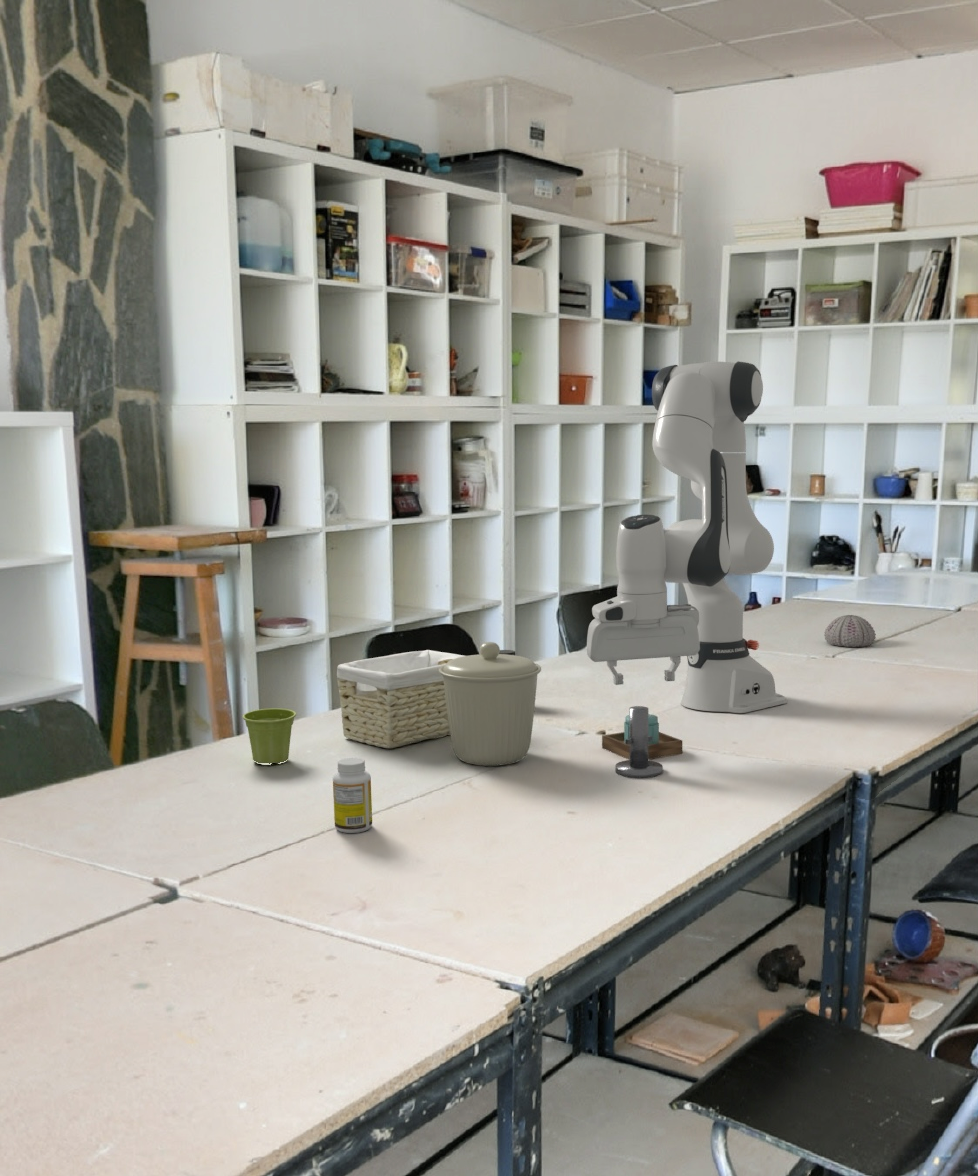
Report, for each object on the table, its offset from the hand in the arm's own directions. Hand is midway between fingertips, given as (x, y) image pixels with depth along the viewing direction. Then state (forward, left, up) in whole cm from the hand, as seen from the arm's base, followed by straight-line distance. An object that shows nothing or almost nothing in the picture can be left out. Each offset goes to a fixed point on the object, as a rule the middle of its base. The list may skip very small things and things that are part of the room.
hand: (644, 682), depth 216 cm
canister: (+27, -9, -13) cm, 31 cm away
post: (+9, +11, -13) cm, 19 cm away
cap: (+1, 0, -11) cm, 11 cm away
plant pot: (+62, -27, -13) cm, 68 cm away
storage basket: (+32, -33, -13) cm, 48 cm away
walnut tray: (+1, 0, -13) cm, 13 cm away
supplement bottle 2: (+6, -44, -13) cm, 46 cm away
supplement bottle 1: (+62, +15, -13) cm, 65 cm away
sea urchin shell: (-108, -63, -13) cm, 126 cm away
